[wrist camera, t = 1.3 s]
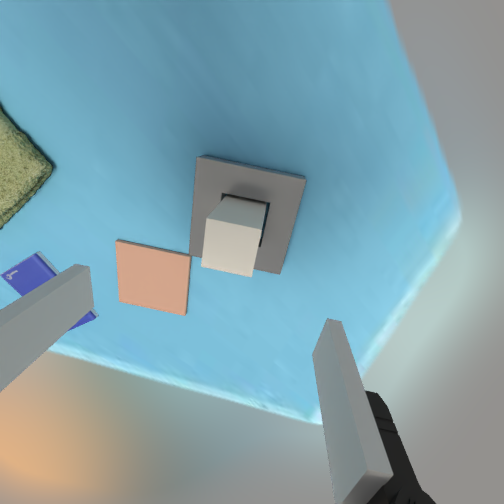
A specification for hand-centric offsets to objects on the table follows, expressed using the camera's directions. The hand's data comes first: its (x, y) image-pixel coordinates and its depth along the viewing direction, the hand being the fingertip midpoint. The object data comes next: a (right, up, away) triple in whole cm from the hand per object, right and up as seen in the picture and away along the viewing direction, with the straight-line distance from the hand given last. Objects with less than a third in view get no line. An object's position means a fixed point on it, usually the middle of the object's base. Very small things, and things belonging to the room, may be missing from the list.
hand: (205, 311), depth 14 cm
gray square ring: (+2, +8, +16) cm, 18 cm away
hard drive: (-28, -3, +25) cm, 38 cm away
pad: (-11, 0, +21) cm, 24 cm away
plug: (+2, +8, +16) cm, 18 cm away
